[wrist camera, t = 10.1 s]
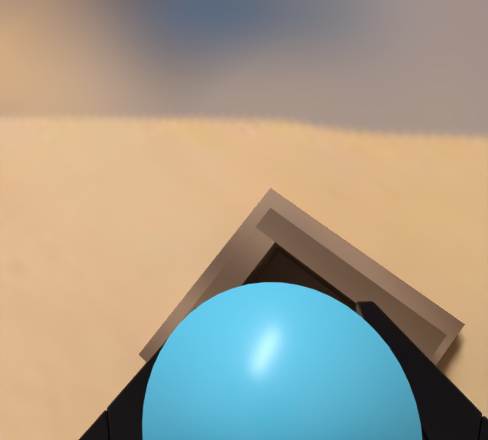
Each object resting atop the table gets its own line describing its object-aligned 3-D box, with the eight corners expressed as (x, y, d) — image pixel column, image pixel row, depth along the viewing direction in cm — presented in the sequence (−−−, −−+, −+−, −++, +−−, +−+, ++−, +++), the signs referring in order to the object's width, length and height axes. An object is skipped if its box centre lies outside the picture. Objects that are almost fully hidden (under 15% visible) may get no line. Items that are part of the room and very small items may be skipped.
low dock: (315, 518, 13) (321, 592, 10) (148, 351, 16) (108, 364, 13) (453, 322, 14) (501, 330, 11) (272, 194, 17) (265, 168, 14)
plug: (356, 396, 12) (467, 584, 4) (247, 412, 12) (156, 608, 4) (329, 283, 13) (375, 259, 5) (230, 302, 13) (131, 306, 5)
